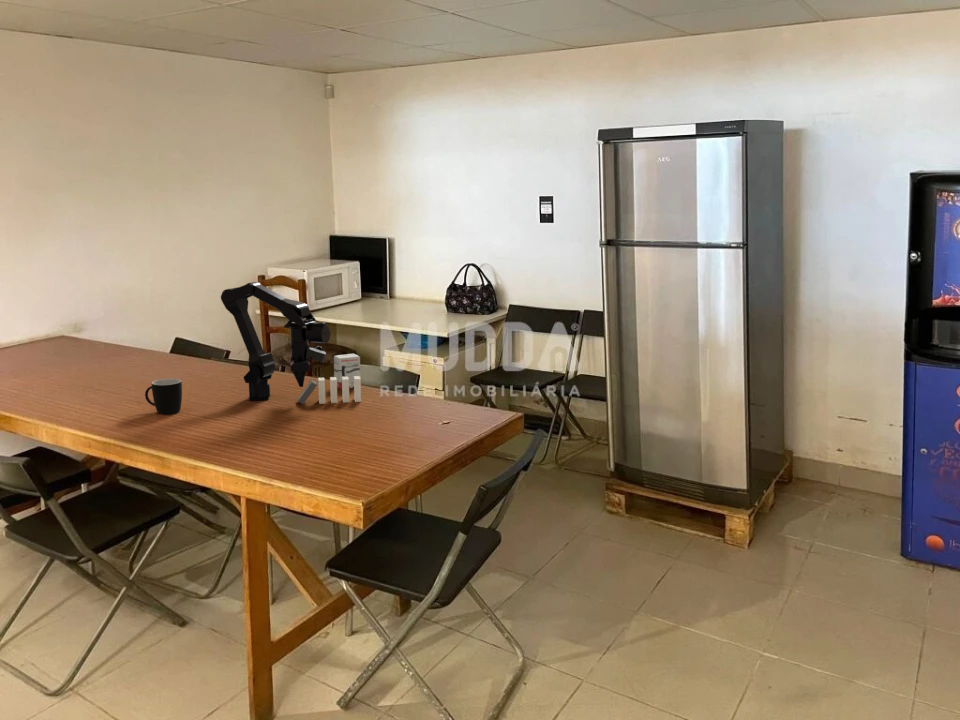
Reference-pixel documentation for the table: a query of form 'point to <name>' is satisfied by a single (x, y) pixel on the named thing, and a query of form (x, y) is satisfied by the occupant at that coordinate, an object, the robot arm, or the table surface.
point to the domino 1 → (307, 391)
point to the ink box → (346, 368)
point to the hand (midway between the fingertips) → (301, 386)
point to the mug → (166, 395)
